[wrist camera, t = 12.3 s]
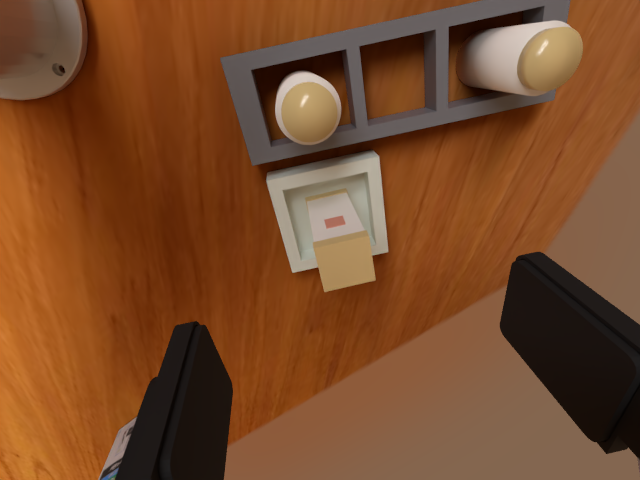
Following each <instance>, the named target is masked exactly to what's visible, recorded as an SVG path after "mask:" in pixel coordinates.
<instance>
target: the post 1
mask: <svg viewBox="0 0 640 480" xmlns="http://www.w3.org/2000/svg"><path fill="white" fill-rule="evenodd" d="M275 114H276V119H277V122H278V125H279V127H280V129H281V130H282V132H283V133H284V134H285V135H286V136H287V137H288V138H289V139H291V140H292V141H294V142H296V143H299V144H303V145H314V144H318V143H320V142H323V141H324V140H326V139H327V138H329V137H330V136H331V135H332V134H333V132H334V131H335V130H336V128H337V126H338V124H339V121H340V117H341V103H340V99H339V96H338V94H337V92H336V90H335V89H334V87H333V86H332V85H331V84H330V83H329V82H328V81H326V80H325V79H323V78H321V77H319V76H318V75H316V74H314V73H312V72H310V71H306V70H296V71H293V72H291V73H289V74H288V75H286V76H285V77H284V78H283V79H282V81H281V82H280V84H279V87H278V90H277V96H276V105H275Z"/></svg>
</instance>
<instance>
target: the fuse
mask: <svg viewBox="0 0 640 480" xmlns="http://www.w3.org/2000/svg"><path fill="white" fill-rule="evenodd" d="M305 201H306V205H307V209H308V213H309V217H310V223H311V229H312V234H313V240H314V242H313V248H314V252H315V256H316V260H317V264H318V268H319V272H320V276H321V280H322V284H323V288H324V292H327V291H331V290H335V289H340V288H344V287H349V286H353V285H357V284H362V283H366V282H371V281H375V280H376V279H375V272H374V265H373V258H372V252H371V245H370V238H369V234H368V232H367V230H364V228H363V226H362V224H361V221H360V219H359V217H358V215H357V213H356V211H355V209H354V207H353V205H352V203H351V201H350V199H349V196H348V192H347V189H346V188H344V189H339V190H335V191H331V192H326V193H322V194H318V195H313V196H309V197H305Z"/></svg>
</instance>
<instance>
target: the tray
mask: <svg viewBox="0 0 640 480" xmlns="http://www.w3.org/2000/svg"><path fill="white" fill-rule="evenodd" d="M266 182H267V185H268V189H269V192H270V196H271V199H272V203H273V206H274V210H275V213H276V217H277V221H278V224H279V228H280V231H281V235H282V238H283V242H284V245H285V249H286V252H287V256H288V259H289V263H290V266H291V270H292V273H294V272H299V271H304V270H308V269H313V268H317V267H318V264H317V260H316V256H315V252H314V248H313V242H314V240H313V234H312V229H311V223H310V217H309V213H308V209H307V205H306V201H305V197H309V196H313V195H318V194H322V193H326V192H331V191H335V190H339V189H344V188H346V189H347V192H348V196H349V199H350V201H351V203H352V205H353V207H354V209H355V211H356V213H357V215H358V217H359V219H360V221H361V224H362V226H363V228H364V230H367V232H368V234H369V238H370V245H371V252H372V256H373V255H377V254H382V253H387V252H388V242H387V232H386V222H385V212H384V201H383V191H382V181H381V171H380V160H379V156H378V155H377V154H376V153H375V152H374V151H373V150H368V151H363V152H358V153H354V154H349V155H345V156H340V157H335V158H331V159H326V160H322V161H317V162H312V163H308V164H303V165H299V166H294V167H290V168H285V169H280V170H276V171H271V172H267V178H266Z"/></svg>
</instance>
